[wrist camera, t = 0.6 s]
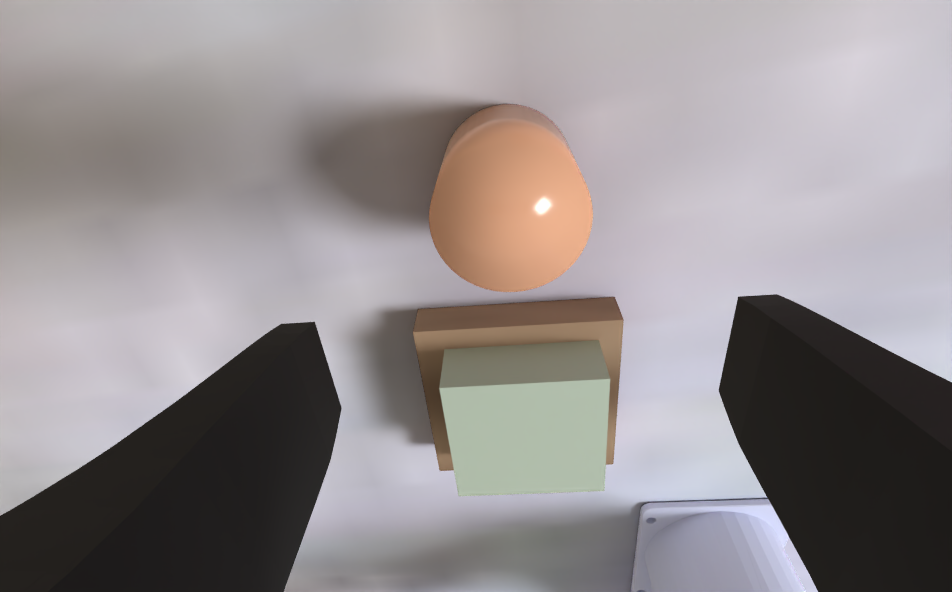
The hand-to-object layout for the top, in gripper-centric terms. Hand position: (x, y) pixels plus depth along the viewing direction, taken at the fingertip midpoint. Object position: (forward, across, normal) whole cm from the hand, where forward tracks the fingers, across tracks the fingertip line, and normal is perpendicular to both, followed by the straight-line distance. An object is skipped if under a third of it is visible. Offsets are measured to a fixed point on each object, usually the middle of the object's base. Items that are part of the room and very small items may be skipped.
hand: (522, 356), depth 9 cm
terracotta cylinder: (+10, 0, 0) cm, 10 cm away
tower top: (+9, 0, +9) cm, 13 cm away
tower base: (+11, 0, +10) cm, 15 cm away
